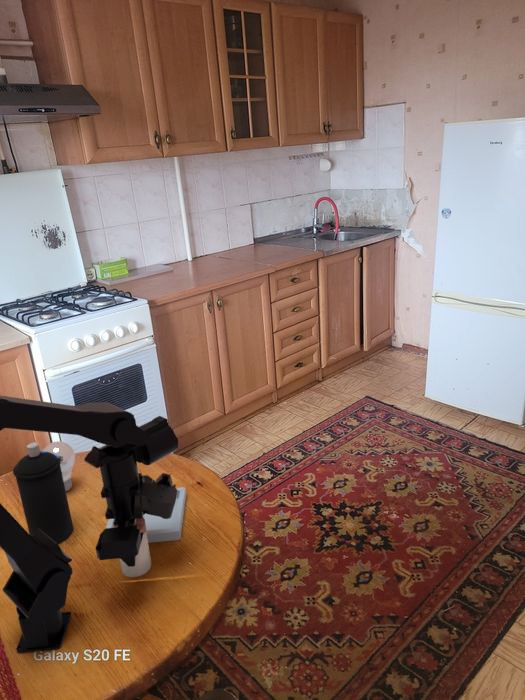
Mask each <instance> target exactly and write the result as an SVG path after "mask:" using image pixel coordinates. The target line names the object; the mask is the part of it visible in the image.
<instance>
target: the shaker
mask: <svg viewBox="0 0 525 700" xmlns="http://www.w3.org/2000/svg"><path fill="white" fill-rule="evenodd" d="M135 525H137V527H138V529H139V530H140V533H143V537H142V542H141V544H140V548H139V553H138V555H136V561H135V566H133V567H129V566H127V565H126V564H125V563H124V562H123V561H122V560H121V559H120V558H119V559H120V565H121V571H122V573H123V575H124V576H125V577H128V578H137V577H141V576H143V575H145V574H146V573H147V572H149V570H150V569H151V568H152V559H151V553H150V547H149V543H148V540H147V534H146V524H145V519H144V517H143V518H138V519H136V522H135ZM116 527H118V526H113V528H116Z"/></svg>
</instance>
